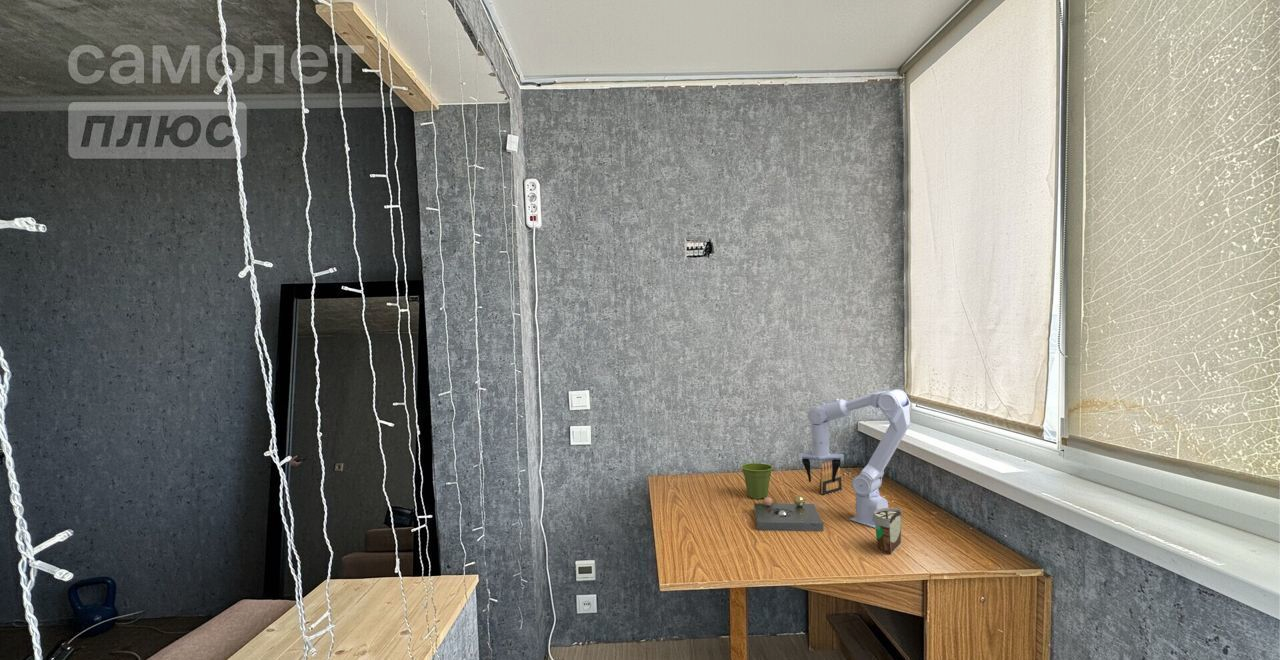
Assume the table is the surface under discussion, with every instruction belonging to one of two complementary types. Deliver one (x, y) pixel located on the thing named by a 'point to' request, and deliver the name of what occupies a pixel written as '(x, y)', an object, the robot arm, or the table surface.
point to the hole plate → (788, 517)
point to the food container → (888, 529)
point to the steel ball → (782, 512)
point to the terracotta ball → (767, 501)
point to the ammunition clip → (829, 479)
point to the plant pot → (757, 479)
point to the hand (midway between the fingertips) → (821, 481)
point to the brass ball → (799, 500)
